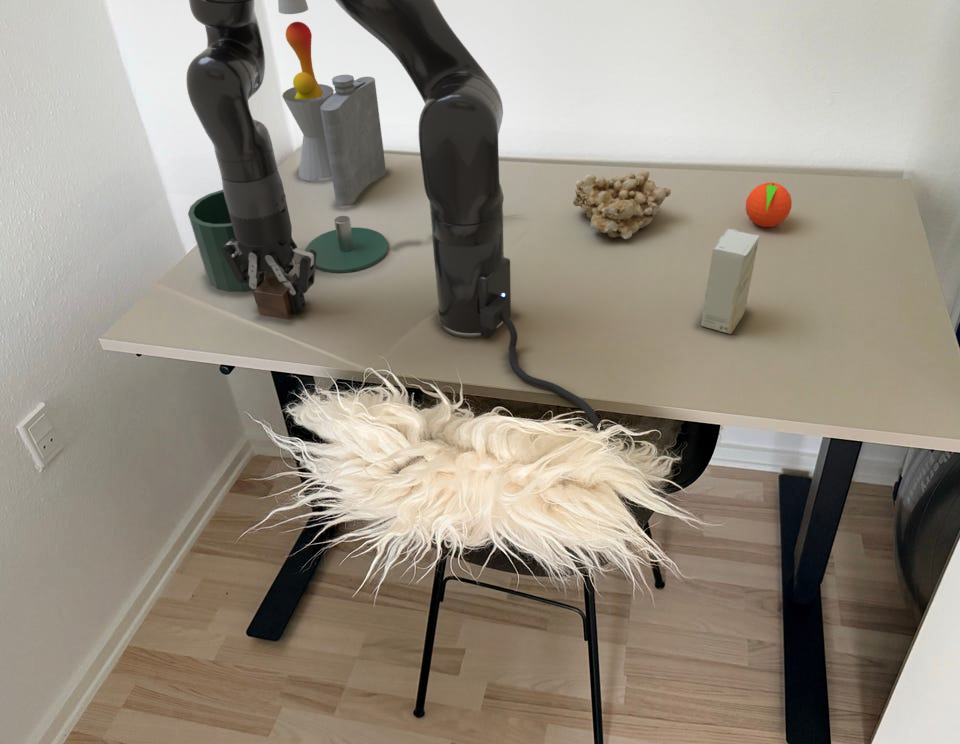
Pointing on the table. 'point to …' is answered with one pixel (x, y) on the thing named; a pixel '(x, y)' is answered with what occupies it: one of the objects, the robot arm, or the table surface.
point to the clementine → (768, 204)
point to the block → (273, 298)
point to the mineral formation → (620, 202)
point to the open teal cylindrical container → (215, 240)
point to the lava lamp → (306, 98)
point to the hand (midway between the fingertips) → (282, 309)
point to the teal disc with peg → (348, 248)
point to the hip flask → (353, 136)
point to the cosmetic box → (729, 280)
